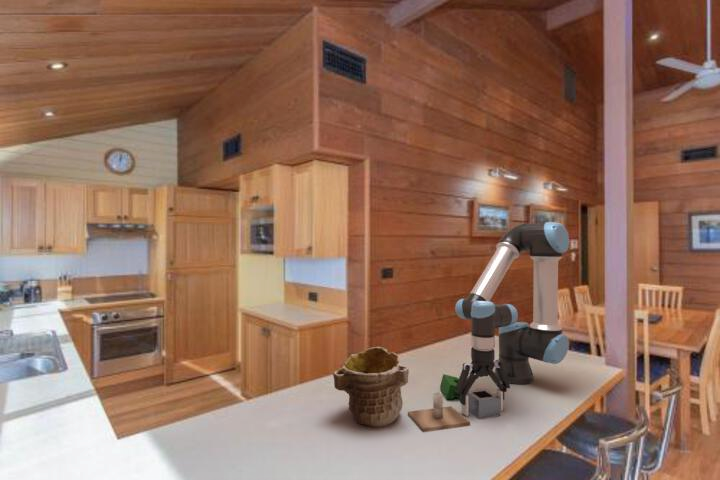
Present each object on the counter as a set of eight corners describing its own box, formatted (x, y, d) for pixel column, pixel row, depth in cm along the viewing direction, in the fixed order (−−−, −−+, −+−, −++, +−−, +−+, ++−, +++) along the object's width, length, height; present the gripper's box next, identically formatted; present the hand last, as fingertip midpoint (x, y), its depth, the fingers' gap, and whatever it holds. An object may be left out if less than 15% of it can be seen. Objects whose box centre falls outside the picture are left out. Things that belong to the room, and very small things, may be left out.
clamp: (458, 410, 143) (467, 392, 140) (442, 406, 143) (451, 388, 139) (454, 386, 154) (461, 369, 151) (439, 383, 154) (446, 365, 150)
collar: (486, 405, 137) (486, 388, 137) (500, 415, 129) (500, 397, 129) (465, 408, 135) (465, 391, 135) (478, 418, 127) (478, 400, 127)
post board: (451, 409, 134) (451, 385, 134) (470, 425, 123) (470, 399, 123) (407, 414, 130) (407, 390, 130) (423, 431, 118) (423, 405, 118)
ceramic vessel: (365, 422, 106) (339, 338, 120) (337, 446, 123) (317, 369, 137) (431, 404, 117) (401, 328, 131) (397, 428, 134) (373, 358, 148)
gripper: (507, 342, 139) (506, 403, 139) (444, 347, 132) (444, 411, 132) (521, 348, 131) (521, 412, 132) (455, 353, 125) (455, 421, 125)
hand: (482, 411), depth 132 cm, fingers open, 12 cm apart
